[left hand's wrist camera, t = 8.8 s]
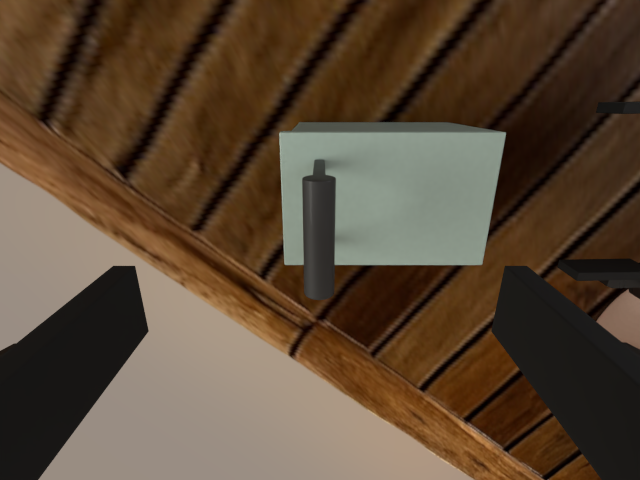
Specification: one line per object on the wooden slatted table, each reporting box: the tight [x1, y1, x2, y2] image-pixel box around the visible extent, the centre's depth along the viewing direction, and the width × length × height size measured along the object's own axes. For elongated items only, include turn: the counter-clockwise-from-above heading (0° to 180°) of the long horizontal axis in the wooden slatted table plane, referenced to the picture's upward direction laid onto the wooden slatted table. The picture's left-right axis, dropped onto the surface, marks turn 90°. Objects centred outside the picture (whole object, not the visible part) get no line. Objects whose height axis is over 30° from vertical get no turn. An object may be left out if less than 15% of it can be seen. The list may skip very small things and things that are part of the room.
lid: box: [279, 131, 506, 300], centre depth 22 cm, size 15×10×9 cm, turn 90°
